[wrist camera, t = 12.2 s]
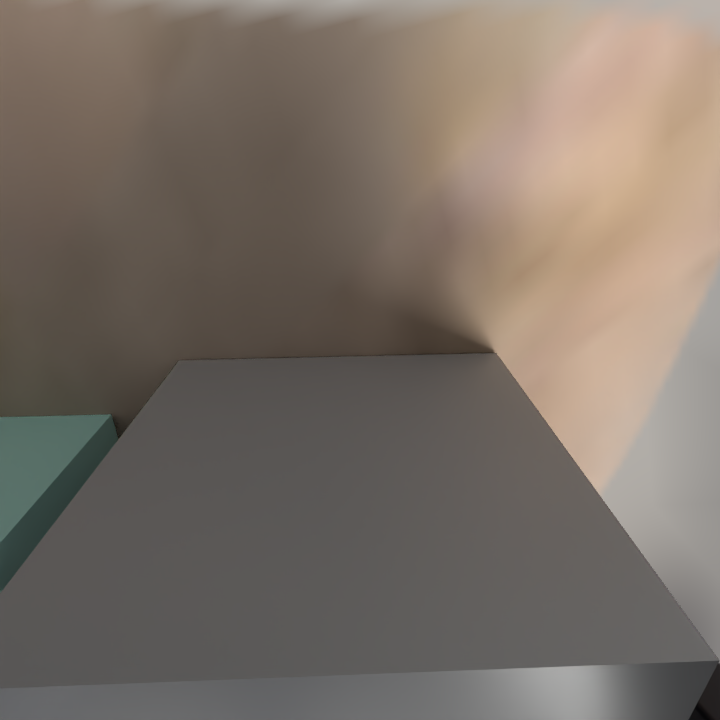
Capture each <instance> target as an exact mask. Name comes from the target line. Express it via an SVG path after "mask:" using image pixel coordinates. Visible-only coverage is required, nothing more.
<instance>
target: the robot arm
mask: <svg viewBox="0 0 720 720" xmlns="http://www.w3.org/2000/svg"><path fill="white" fill-rule="evenodd" d="M689 720H720V663H718V664H717V666H716V668H715V670H714V672H713V674H712V676H711V678H710V680H709V682H708V683H707V685H706V687H705V689H704V691H703V693H702V695H701V697H700V699H699V701H698V703H697V704H696V706H695V708H694V710H693V712H692V714H691V716H690V718H689Z"/></svg>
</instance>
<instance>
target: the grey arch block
mask: <svg viewBox="0 0 720 720" xmlns="http://www.w3.org/2000/svg"><path fill="white" fill-rule="evenodd" d="M718 663H719V659H718V658H717V656H716V655H715V654H714V652H713V651H712V649H711V648H710V647H709V645H708V644H707V643H706V641H705V640H704V638H703V637H702V636H701V634H700V633H699V632H698V630H697V629H696V627H695V626H694V625H693V623H692V622H691V621H690V619H689V618H688V617H687V615H686V614H685V613H684V611H683V610H682V608H681V607H680V605H679V604H678V603H677V601H676V600H675V599H674V597H673V596H672V594H671V593H670V592H669V590H668V589H667V588H666V586H665V585H664V583H663V582H662V581H661V579H660V578H659V577H658V575H657V574H656V572H655V571H654V570H653V568H652V567H651V566H650V564H649V563H648V561H647V560H646V559H645V557H644V556H643V554H642V553H641V552H640V550H639V549H638V548H637V546H636V545H635V544H634V542H633V541H632V539H631V538H630V537H629V535H628V534H627V532H626V531H625V530H624V528H623V527H622V526H621V524H620V523H619V521H618V520H617V519H616V517H615V516H614V515H613V513H612V512H611V511H610V509H609V508H608V506H607V505H606V504H605V502H604V501H603V499H602V498H601V497H600V495H599V494H598V493H597V491H596V490H595V488H594V487H593V486H592V484H591V483H590V482H589V480H588V479H587V477H586V476H585V475H584V473H583V472H582V471H581V469H580V468H579V466H578V465H577V464H576V462H575V461H574V460H573V458H572V457H571V455H570V454H569V453H568V451H567V450H566V448H565V447H564V446H563V444H562V443H561V442H560V440H559V439H558V437H557V436H556V435H555V433H554V432H553V431H552V429H551V428H550V426H549V425H548V424H547V422H546V421H545V420H544V418H543V417H542V415H541V414H540V413H539V411H538V410H537V409H536V407H535V406H534V404H533V403H532V402H531V400H530V399H529V398H528V396H527V395H526V393H525V392H524V391H523V389H522V388H521V387H520V385H519V384H518V382H517V381H516V380H515V378H514V377H513V376H512V374H511V373H510V371H509V370H508V369H507V367H506V366H505V365H504V363H503V362H502V360H501V359H500V358H499V356H498V355H497V354H496V353H474V354H431V355H388V356H344V357H301V358H258V359H215V360H179V361H178V362H177V364H176V365H175V366H174V368H173V369H172V370H171V372H170V373H169V374H168V375H167V377H166V378H165V379H164V381H163V382H162V383H161V385H160V386H159V387H158V388H157V390H156V391H155V392H154V394H153V395H152V396H151V398H150V399H149V400H148V401H147V403H146V404H145V405H144V407H143V408H142V409H141V411H140V412H139V413H138V415H137V416H136V417H135V418H134V420H133V421H132V422H131V424H130V425H129V426H128V428H127V429H126V430H125V431H124V433H123V434H122V435H121V437H120V438H119V439H118V441H117V442H116V443H115V444H114V446H113V447H112V448H111V450H110V451H109V452H108V454H107V455H106V456H105V457H104V459H103V460H102V461H101V463H100V464H99V465H98V467H97V468H96V469H95V470H94V472H93V473H92V474H91V476H90V477H89V478H88V480H87V481H86V482H85V484H84V485H83V486H82V487H81V489H80V490H79V491H78V493H77V494H76V495H75V497H74V498H73V499H72V500H71V502H70V503H69V504H68V506H67V507H66V508H65V510H64V511H63V512H62V513H61V515H60V516H59V517H58V519H57V520H56V521H55V523H54V524H53V525H52V526H51V528H50V529H49V530H48V532H47V533H46V534H45V536H44V537H43V538H42V540H41V541H40V542H39V543H38V545H37V546H36V547H35V549H34V550H33V551H32V553H31V554H30V555H29V556H28V558H27V559H26V560H25V562H24V563H23V564H22V566H21V567H20V568H19V569H18V571H17V572H16V573H15V575H14V576H13V577H12V579H11V580H10V581H9V582H8V584H7V585H6V586H5V588H4V589H3V590H2V592H1V593H0V720H689V718H690V716H691V714H692V712H693V710H694V708H695V706H696V704H697V703H698V701H699V699H700V697H701V695H702V693H703V691H704V689H705V687H706V685H707V683H708V682H709V680H710V678H711V676H712V674H713V672H714V670H715V668H716V666H717V664H718Z"/></svg>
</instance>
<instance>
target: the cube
mask: <svg viewBox="0 0 720 720" xmlns="http://www.w3.org/2000/svg"><path fill="white" fill-rule="evenodd" d="M117 441H118V436H117V432H116V429H115V425H114V422H113V418H112V415H111V414H110V415H67V416H25V417H0V593H1V592H2V590H3V589H4V588H5V586H6V585H7V584H8V582H9V581H10V580H11V579H12V577H13V576H14V575H15V573H16V572H17V571H18V569H19V568H20V567H21V566H22V564H23V563H24V562H25V560H26V559H27V558H28V556H29V555H30V554H31V553H32V551H33V550H34V549H35V547H36V546H37V545H38V543H39V542H40V541H41V540H42V538H43V537H44V536H45V534H46V533H47V532H48V530H49V529H50V528H51V526H52V525H53V524H54V523H55V521H56V520H57V519H58V517H59V516H60V515H61V513H62V512H63V511H64V510H65V508H66V507H67V506H68V504H69V503H70V502H71V500H72V499H73V498H74V497H75V495H76V494H77V493H78V491H79V490H80V489H81V487H82V486H83V485H84V484H85V482H86V481H87V480H88V478H89V477H90V476H91V474H92V473H93V472H94V470H95V469H96V468H97V467H98V465H99V464H100V463H101V461H102V460H103V459H104V457H105V456H106V455H107V454H108V452H109V451H110V450H111V448H112V447H113V446H114V444H115V443H116V442H117Z"/></svg>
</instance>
